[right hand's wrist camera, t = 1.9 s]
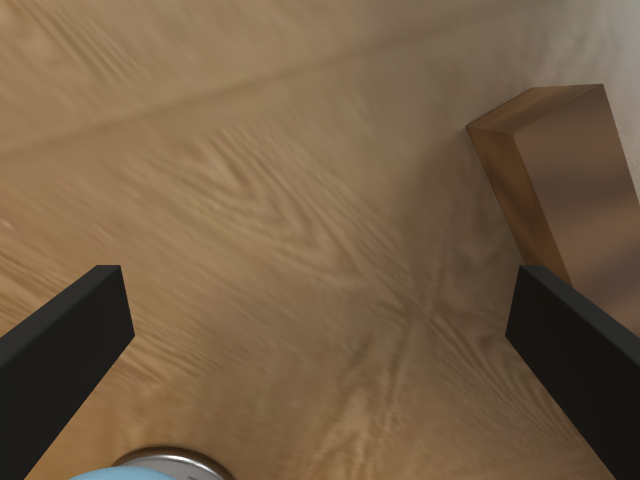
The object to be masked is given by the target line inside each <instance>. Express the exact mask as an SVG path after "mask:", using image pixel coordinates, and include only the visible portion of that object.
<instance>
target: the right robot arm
mask: <svg viewBox="0 0 640 480" xmlns="http://www.w3.org/2000/svg"><path fill="white" fill-rule="evenodd" d="M134 337H135V333H134V329H133V324H132V319H131V314H130V309H129V305H128V300H127V295H126V290H125V286H124V281H123V276H122V271H121V266H120V265H97V266H95V267H94V268H93V269H91V270H90V271H89V272H87V273H86V274H85V275H83V276H82V277H81V278H79V279H78V280H77V281H75V282H74V283H73V284H71V285H70V286H69V287H67V288H66V289H65V290H63V291H62V292H61V293H59V294H58V295H57V296H55V297H54V298H53V299H51V300H50V301H49V302H47V303H46V304H45V305H43V306H42V307H41V308H39V309H38V310H37V311H35V312H34V313H33V314H31V315H30V316H29V317H27V318H26V319H25V320H23V321H22V322H21V323H20V324H18V325H17V326H16V327H14V328H13V329H12V330H10V331H9V332H8V333H6V334H5V335H4V336H2V337H1V338H0V480H24V479H25V477H26V476H27V475H28V473H29V472H30V471H31V470H32V468H33V467H34V466H35V464H36V463H37V462H38V461H39V459H40V458H41V457H42V455H43V454H44V453H45V451H46V450H47V449H48V448H49V446H50V445H51V444H52V442H53V441H54V440H55V439H56V437H57V436H58V435H59V433H60V432H61V431H62V430H63V428H64V427H65V426H66V424H67V423H68V422H69V421H70V419H71V418H72V417H73V415H74V414H75V413H76V411H77V410H78V409H79V408H80V406H81V405H82V404H83V402H84V401H85V400H86V399H87V397H88V396H89V395H90V393H91V392H92V391H93V390H94V388H95V387H96V386H97V384H98V383H99V382H100V380H101V379H102V378H103V377H104V375H105V374H106V373H107V371H108V370H109V369H110V368H111V366H112V365H113V364H114V362H115V361H116V360H117V359H118V357H119V356H120V355H121V353H122V352H123V351H124V350H125V348H126V347H127V346H128V344H129V343H130V342H131V340H132V339H133V338H134ZM505 337H506V338H507V339H508V340H509V342H510V343H511V344H512V346H513V347H514V348H515V350H516V351H517V352H518V353H519V355H520V356H521V357H522V359H523V360H524V361H525V362H526V364H527V365H528V366H529V368H530V369H531V370H532V371H533V373H534V374H535V375H536V377H537V378H538V379H539V380H540V382H541V383H542V384H543V386H544V387H545V388H546V390H547V391H548V392H549V393H550V395H551V396H552V397H553V399H554V400H555V401H556V402H557V404H558V405H559V406H560V408H561V409H562V410H563V411H564V413H565V414H566V415H567V417H568V418H569V419H570V421H571V422H572V423H573V424H574V426H575V427H576V428H577V430H578V431H579V432H580V433H581V435H582V436H583V437H584V439H585V440H586V441H587V442H588V444H589V445H590V446H591V448H592V449H593V450H594V451H595V453H596V454H597V455H598V457H599V458H600V459H601V461H602V462H603V463H604V464H605V466H606V467H607V468H608V470H609V471H610V472H611V473H612V475H613V476H614V477H615V479H616V480H640V338H639V337H638V336H636V335H635V334H634V333H632V332H631V331H630V330H628V329H627V328H626V327H624V326H623V325H622V324H620V323H619V322H618V321H617V320H615V319H614V318H613V317H611V316H610V315H609V314H607V313H606V312H605V311H603V310H602V309H601V308H599V307H598V306H597V305H595V304H594V303H593V302H591V301H590V300H589V299H587V298H586V297H585V296H583V295H582V294H581V293H579V292H578V291H577V290H575V289H574V288H573V287H571V286H570V285H569V284H567V283H566V282H565V281H563V280H562V279H561V278H559V277H558V276H557V275H555V274H554V273H553V272H551V271H550V270H549V269H547V268H546V267H545V266H543V265H520V266H519V271H518V276H517V281H516V286H515V290H514V295H513V300H512V305H511V309H510V314H509V319H508V324H507V329H506V333H505Z"/></svg>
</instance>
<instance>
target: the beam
mask: <svg viewBox="0 0 640 480" xmlns="http://www.w3.org/2000/svg"><path fill="white" fill-rule="evenodd" d="M466 128H467V131H468V133H469V135H470V138H471V140H472V142H473V144H474V147H475V149H476V151H477V154H478V156H479V158H480V160H481V163H482V165H483V167H484V170H485V172H486V174H487V176H488V179H489V181H490V183H491V186H492V188H493V190H494V192H495V195H496V197H497V199H498V201H499V204H500V206H501V208H502V211H503V213H504V215H505V217H506V220H507V222H508V224H509V227H510V229H511V231H512V233H513V236H514V238H515V240H516V243H517V245H518V247H519V249H520V252H521V254H522V256H523V259H524V261H525V263H526V265H543V266H545V267H546V268H547V269H549V270H550V271H551V272H553V273H554V274H555V275H557V276H558V277H559V278H561V279H562V280H563V281H565V282H566V283H567V284H569V285H570V286H571V287H573V288H574V289H575V290H577V291H578V292H579V293H581V294H582V295H583V296H585V297H586V298H587V299H589V300H590V301H591V302H593V303H594V304H595V305H597V306H598V307H599V308H601V309H602V310H603V311H605V312H606V313H607V314H609V315H610V316H611V317H613V318H614V319H615V320H617V321H618V322H619V323H620V324H622V325H623V326H624V327H626V328H627V329H628V330H630V331H631V332H632V333H634V334H635V335H636V336H638V337H639V338H640V204H639V201H638V198H637V194H636V191H635V188H634V185H633V181H632V178H631V175H630V171H629V168H628V165H627V161H626V158H625V155H624V151H623V148H622V145H621V142H620V138H619V135H618V132H617V128H616V125H615V122H614V118H613V115H612V112H611V108H610V105H609V102H608V98H607V95H606V92H605V89H604V85H603V84H589V85H571V86H553V87H536V88H531V89H529V90H527V91H525V92H524V93H522V94H520V95H518V96H517V97H515V98H513V99H512V100H510V101H508V102H506V103H505V104H503V105H501V106H499V107H498V108H496V109H494V110H492V111H491V112H489V113H487V114H485V115H484V116H482V117H480V118H479V119H477V120H475V121H473V122H472V123H470V124H468V125H466Z"/></svg>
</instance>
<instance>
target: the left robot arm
mask: <svg viewBox="0 0 640 480" xmlns="http://www.w3.org/2000/svg"><path fill="white" fill-rule="evenodd" d="M69 480H235V479H234V478H233V477H232V475H231V474H230V473H229V472H228V471H227V470H226V469H225V468H224V467H223V466H221V465H220V464H219V463H217V462H216V461H214V460H212V459H211V458H209V457H207V456H205V455H202V454H200V453H197V452H194V451H191V450H187V449H182V448H176V447H152V448H145V449H141V450H137V451H134V452H132V453H129V454H127V455H125V456H123V457H122V458H120V459H119V460H117V461H116V462H115V463H114V464H113V465H112V466H111V467H108V468H102V469H98V470H94V471H90V472H86V473H83V474H80V475H78V476H75V477H72V478H70V479H69Z"/></svg>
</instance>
